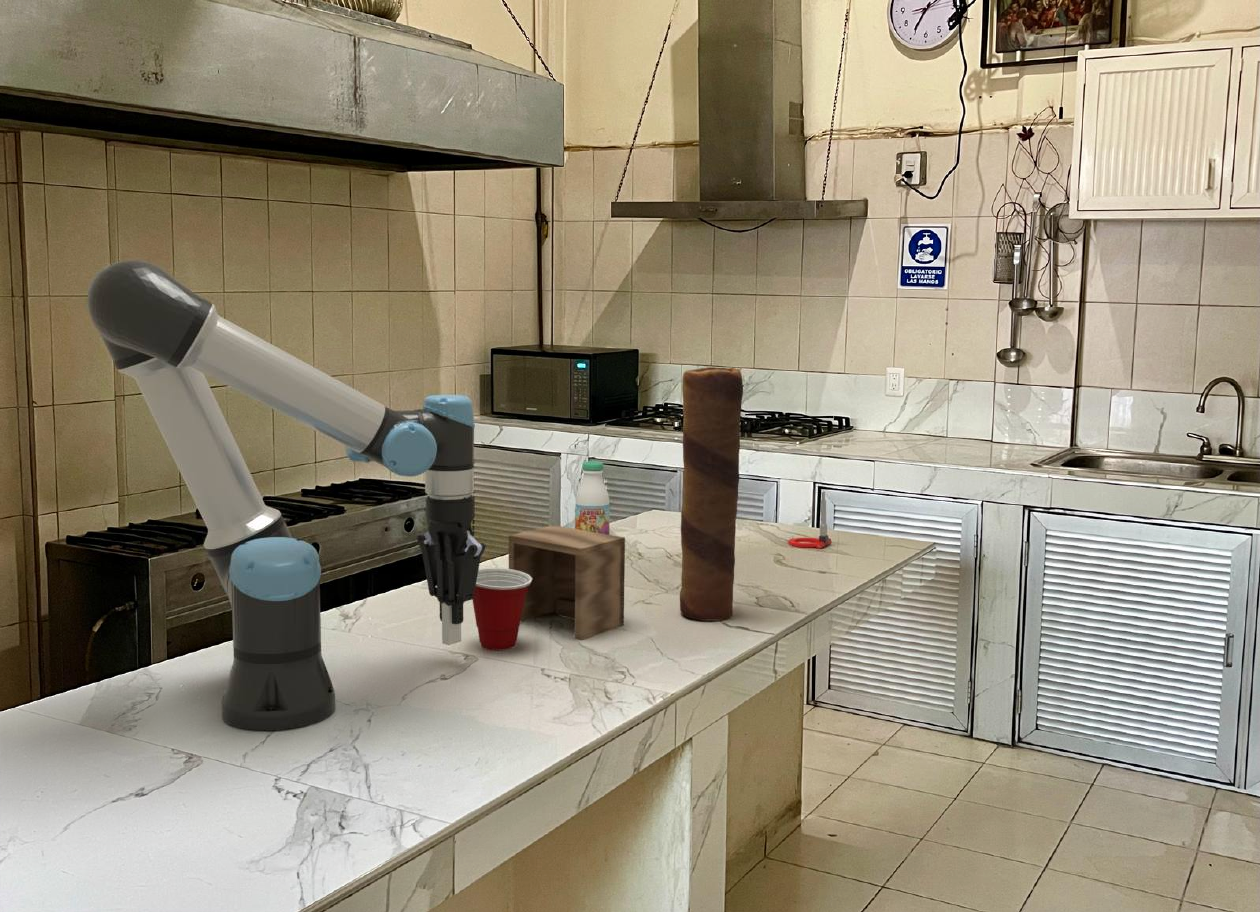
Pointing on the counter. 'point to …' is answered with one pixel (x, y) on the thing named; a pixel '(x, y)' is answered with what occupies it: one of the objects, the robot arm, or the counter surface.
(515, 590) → the plastic cup
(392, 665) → the counter surface
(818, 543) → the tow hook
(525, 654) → the counter surface
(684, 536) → the wafer roll
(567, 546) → the open wooden crate
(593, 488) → the milk bottle
